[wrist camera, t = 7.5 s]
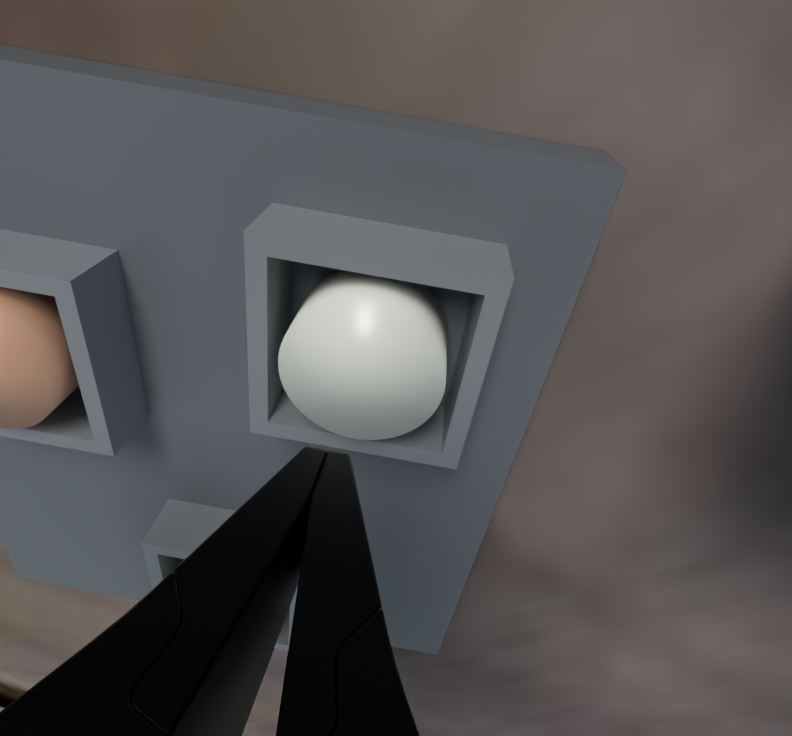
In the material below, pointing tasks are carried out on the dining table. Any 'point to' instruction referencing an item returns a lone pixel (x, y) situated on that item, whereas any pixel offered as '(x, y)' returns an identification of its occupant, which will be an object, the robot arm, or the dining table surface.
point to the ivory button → (366, 355)
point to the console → (268, 314)
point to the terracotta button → (32, 359)
